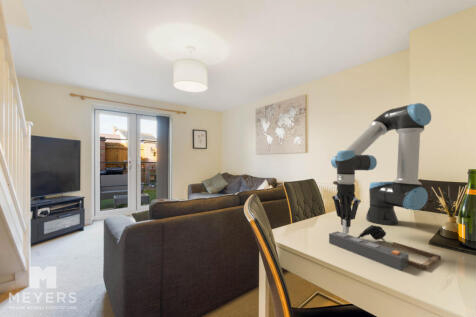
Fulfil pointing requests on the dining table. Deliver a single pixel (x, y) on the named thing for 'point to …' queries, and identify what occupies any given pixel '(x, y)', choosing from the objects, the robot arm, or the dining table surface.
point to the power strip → (370, 250)
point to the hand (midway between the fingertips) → (345, 233)
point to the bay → (427, 263)
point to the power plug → (374, 232)
